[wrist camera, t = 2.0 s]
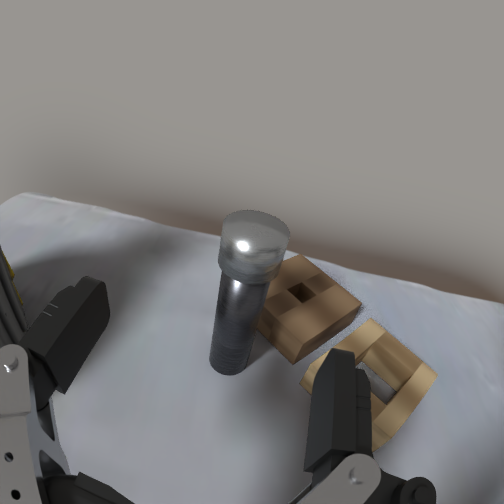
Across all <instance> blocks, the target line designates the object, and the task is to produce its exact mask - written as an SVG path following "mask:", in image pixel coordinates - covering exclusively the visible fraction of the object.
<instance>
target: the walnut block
mask: <svg viewBox="0 0 504 504" xmlns="http://www.w3.org/2000/svg"><path fill="white" fill-rule="evenodd" d="M361 304H362V303H361V302H360V301H359V300H358V299H356V298H355V297H354V296H353V295H351V294H350V293H349V292H348V291H347V290H345V289H344V288H343V287H342V286H340V285H339V284H338V283H337V282H335V281H334V280H333V279H332V278H330V277H329V276H328V275H327V274H325V273H324V272H323V271H322V270H320V269H319V268H318V267H317V266H315V265H314V264H313V263H312V262H310V261H309V260H308V259H307V258H305V257H304V256H303V255H301V254H299V255H297V256H294V257H292V258H289V259H287V260H284V261H282V265H281V268H280V271H279V274H278V276H277V277H276V278H275V279H274V280H272V281H271V282H270V286H269V289H268V293H267V296H266V300H265V303H264V307H263V310H262V313H261V317H260V320H259V324H258V327H257V329H258V330H259V331H260V332H261V333H262V334H263V335H264V336H265V337H266V338H267V339H268V340H269V341H270V342H271V343H272V344H273V345H274V347H275V348H276V349H277V350H278V351H279V352H280V353H281V354H282V355H283V356H284V357H285V358H286V359H287V360H288V361H289V362H290V363H291V364H292V365H293V364H295V363H296V362H298V361H299V360H301V359H302V358H304V357H305V356H307V355H308V354H310V353H311V352H312V351H314V350H315V349H317V348H318V347H320V346H321V345H322V344H324V343H325V342H327V341H328V340H329V339H331V338H332V337H334V336H335V335H336V334H338V333H339V332H340V331H342V330H343V329H345V328H346V327H347V326H349V325H350V324H351V323H352V321H353V319H354V317H355V315H356V314H357V312H358V310H359V308H360V306H361Z"/></svg>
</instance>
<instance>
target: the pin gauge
mask: <svg viewBox="0 0 504 504" xmlns="http://www.w3.org/2000/svg"><path fill="white" fill-rule="evenodd" d="M289 237H290V231H289V229H288V227H287V226H286V225H285V223H284V222H282V221H281V220H280V219H278V218H276V217H274V216H272V215H270V214H267V213H264V212H260V211H254V210H242V211H236V212H233V213H231V214H229V215H228V216H227V217H226V218H225V219H224V222H223V228H222V235H221V242H220V249H219V256H218V264H219V267H220V268H221V270H222V274H221V281H220V287H219V294H218V301H217V308H216V315H215V322H214V329H213V336H212V343H211V350H210V357H209V360H210V364H211V366H212V367H213V368H214V370H216V371H217V372H219V373H221V374H224V375H236V374H238V373H240V372H242V371H243V370H244V369H245V367H246V364H247V361H248V357H249V354H250V351H251V347H252V344H253V341H254V337H255V334H256V331H257V327H258V324H259V320H260V317H261V313H262V310H263V307H264V303H265V300H266V296H267V293H268V289H269V286H270V282H271V281H272V280H274V279H275V278H276V277H277V276H278V274H279V271H280V268H281V265H282V261H283V258H284V254H285V251H286V247H287V244H288V240H289Z"/></svg>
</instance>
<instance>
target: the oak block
mask: <svg viewBox="0 0 504 504" xmlns="http://www.w3.org/2000/svg"><path fill="white" fill-rule="evenodd" d="M333 348H337V349H342V350H346V351H351V352H354V354H355V366H357V365H358V364H359V363H360V362H361V361H363V362H364V363H365V364H366V365H367V366H368V367H369V368H371V369H372V370H373V371H374V372H375V373H376V374H377V375H378V376H380V377H381V378H382V379H383V380H384V381H385V382H386V383H387V384H389V385H390V386H391V387H392V388H393V389H394V390H395V391H397V393H396V394H395V395H394V396H393V397H392V398H391V400H390V401H389V402H388V403H387V404H386V405H385V404H384V403H383V402H382V401H381V400H380V399H379V398H378V397H376V396H375V395H374V394H373V393H372V392H371V398H370V400H371V412H372V452H374V451H375V450H377V449H378V448H379V447H381V446H382V445H383V444H385V443H386V442H387V441H389V440H390V439H391V438H392V437H393V436H394V435H395V433H396V432H397V431H398V430H399V429H400V427H401V426H402V425H403V423H404V422H405V421H406V420H407V418H408V417H409V416H410V414H411V413H412V412H413V410H414V409H415V408H416V406H417V405H418V404H419V402H420V401H421V399H422V398H423V397H424V395H425V394H426V392H427V391H428V390H429V388H430V387H431V385H432V384H433V382H434V381H435V379H436V378H437V376H438V374H437V373H436V372H434V371H433V370H432V369H431V368H430V367H429V366H427V365H426V364H425V363H424V362H423V361H422V360H420V359H419V358H418V357H417V356H416V355H414V354H413V353H412V352H411V351H410V350H409V349H407V348H406V347H405V346H404V345H403V344H401V343H400V342H399V341H398V340H397V339H396V338H394V337H393V336H392V335H391V334H390V333H388V332H387V331H386V330H385V329H384V328H382V327H381V326H380V325H379V324H378V323H376V322H375V321H374V320H373V319H372V318H370V319H369V320H367V321H366V322H365V323H364V324H362V325H361V326H360V327H359V328H357V329H356V330H355V331H354V332H352V333H351V334H350V335H348V336H347V337H346V338H345V339H343V340H342V341H341V342H339V343H338V344H337V345H335V346H334V347H333ZM330 350H331V349H330ZM330 350H329V351H330ZM329 351H327V352H326V353H325V354H323V355H322V356H321V357H319V358H318V359H316V360H315V361H314V362H312V363H311V364H310V366H309V368H308V369H307V371H306V373H305V375H304V377H303V378H302V380H301V382H300V383H299V384H300V385H301V386H302V387H303V388H305V389H306V390H307V391H308V392H309V393H310V394H311V395H312V387H313V382H314V378H315V375H316V373H317V371H318V369H319V368H320V366H321V365H322V363H323V361H324V360H325V358H326V356H327V355H328V353H329Z"/></svg>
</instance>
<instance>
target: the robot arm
mask: <svg viewBox="0 0 504 504" xmlns="http://www.w3.org/2000/svg"><path fill="white" fill-rule="evenodd" d="M109 318H110V309H109V303H108V297H107V290H106V285H105V283H104V282H102V281H99V280H96V279H93V278H90V277H88V276H85V277H83V278H82V279H81V280H80V281H79V282H78V283H77V285H76V286H75V287H73V286H69V287H67V288H65V289H64V290H62V291H60V292H59V293H58V294H57V295H56V296H55V297H54V299H53V300H52V301H51V302H50V305H48V306H47V307H46V308H45V309H44V312H43V313H41V314H40V316H39V317H38V318H37V319H36V321H35V322H34V323H33V325H32V326H31V327H30V328H29V330H28V331H27V332H26V334H25V335H24V336H23V337H22V339H21V340H20V341H19V342H18V343H17V344H16V345H15V344H9V345H6V346H3V347H2V348H0V504H134V503H133V502H131V501H130V500H128V499H127V498H126V497H124V496H123V495H121V494H120V493H118V492H117V491H116V490H114V489H113V488H112V487H110V486H109V485H106V484H104V483H102V482H100V481H98V480H95V479H93V478H91V477H89V476H87V475H85V474H83V473H81V472H79V473H78V476H76V475H71V473H70V469H69V466H68V462H67V459H66V456H65V454H64V452H63V450H62V448H61V445H60V442H59V437H58V432H57V426H56V421H55V415H54V408H53V401H52V397H51V396H52V394H53V392H54V391H55V390H57V391H59V392H61V393H63V394H64V395H65V393H66V391H67V390H68V388H69V386H70V385H71V383H72V381H73V380H74V378H75V376H76V375H77V373H78V371H79V370H80V368H81V366H82V365H83V363H84V361H85V360H86V358H87V357H88V355H89V353H90V352H91V350H92V349H93V347H94V345H95V344H96V342H97V341H98V339H99V337H100V336H101V334H102V333H103V331H104V330H105V328H106V326H107V324H108V322H109ZM370 398H371V388H370V382H369V380H368V377H367V375H366V373H365V371H364V370H361V369H356V368H355V354H354V352H351V351H346V350H342V349H337V348H331V350H330V351H329V353H328V355H327V356H326V358H325V360H324V361H323V363H322V365H321V366H320V368H319V369H318V371H317V373H316V375H315V378H314V382H313V387H312V398H311V408H310V419H309V429H308V438H307V447H306V455H305V463H304V471H305V472H312V473H313V477H312V482H311V483H310V484H309V485H308V486H307V487H305V488H304V489H303V490H302V491H301V492H300V493H299V494H298V495H297V496H295V497H294V498H293V499H292V500H291V501H290V502H289V503H287V504H436V490H435V487H434V485H433V484H432V483H431V482H430V481H429V480H428V479H426V478H423V477H415V478H412V479H410V480H408V481H406V480H404V479H401V478H398V477H396V476H393V475H391V474H388V473H386V472H384V471H383V470H381V469H380V467H379V465H378V464H377V462H376V461H375V460H374V458H373V454H372V412H371V400H370Z"/></svg>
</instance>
